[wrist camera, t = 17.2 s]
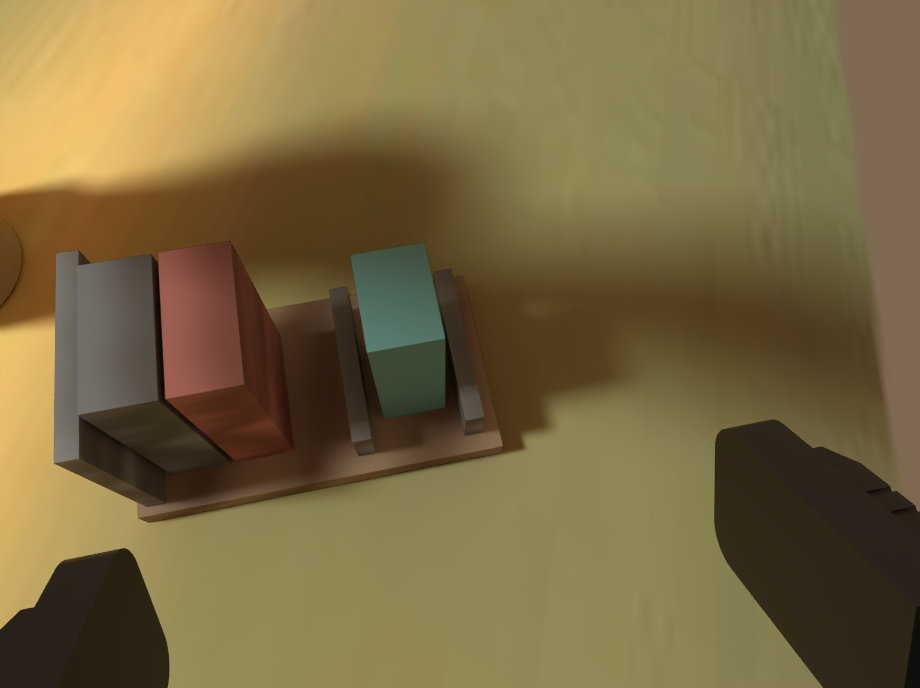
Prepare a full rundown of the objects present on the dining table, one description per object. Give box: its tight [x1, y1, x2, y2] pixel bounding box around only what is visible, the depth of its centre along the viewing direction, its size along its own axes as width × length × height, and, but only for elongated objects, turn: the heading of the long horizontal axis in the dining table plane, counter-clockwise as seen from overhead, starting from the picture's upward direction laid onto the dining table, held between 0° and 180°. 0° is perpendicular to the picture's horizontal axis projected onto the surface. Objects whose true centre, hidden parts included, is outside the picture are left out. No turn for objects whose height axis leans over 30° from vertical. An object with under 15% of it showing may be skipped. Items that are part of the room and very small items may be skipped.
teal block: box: [350, 243, 445, 419], centre depth 37 cm, size 4×5×10 cm
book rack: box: [54, 241, 503, 523], centre depth 37 cm, size 20×11×12 cm, turn 102°
